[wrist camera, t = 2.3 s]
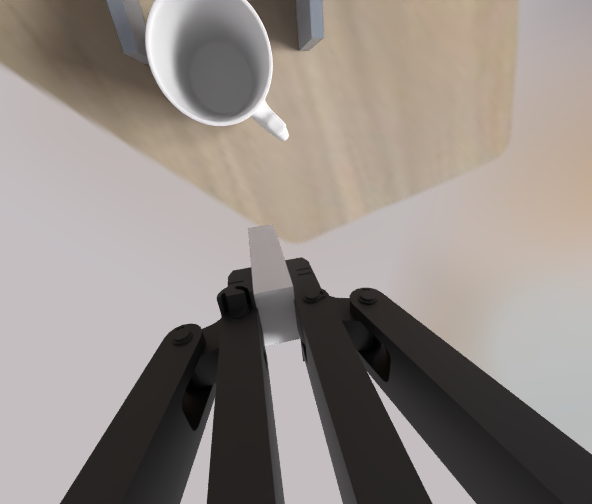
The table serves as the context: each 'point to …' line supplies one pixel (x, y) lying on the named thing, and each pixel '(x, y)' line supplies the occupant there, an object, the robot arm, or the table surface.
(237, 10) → the mug
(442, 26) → the table surface
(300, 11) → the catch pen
